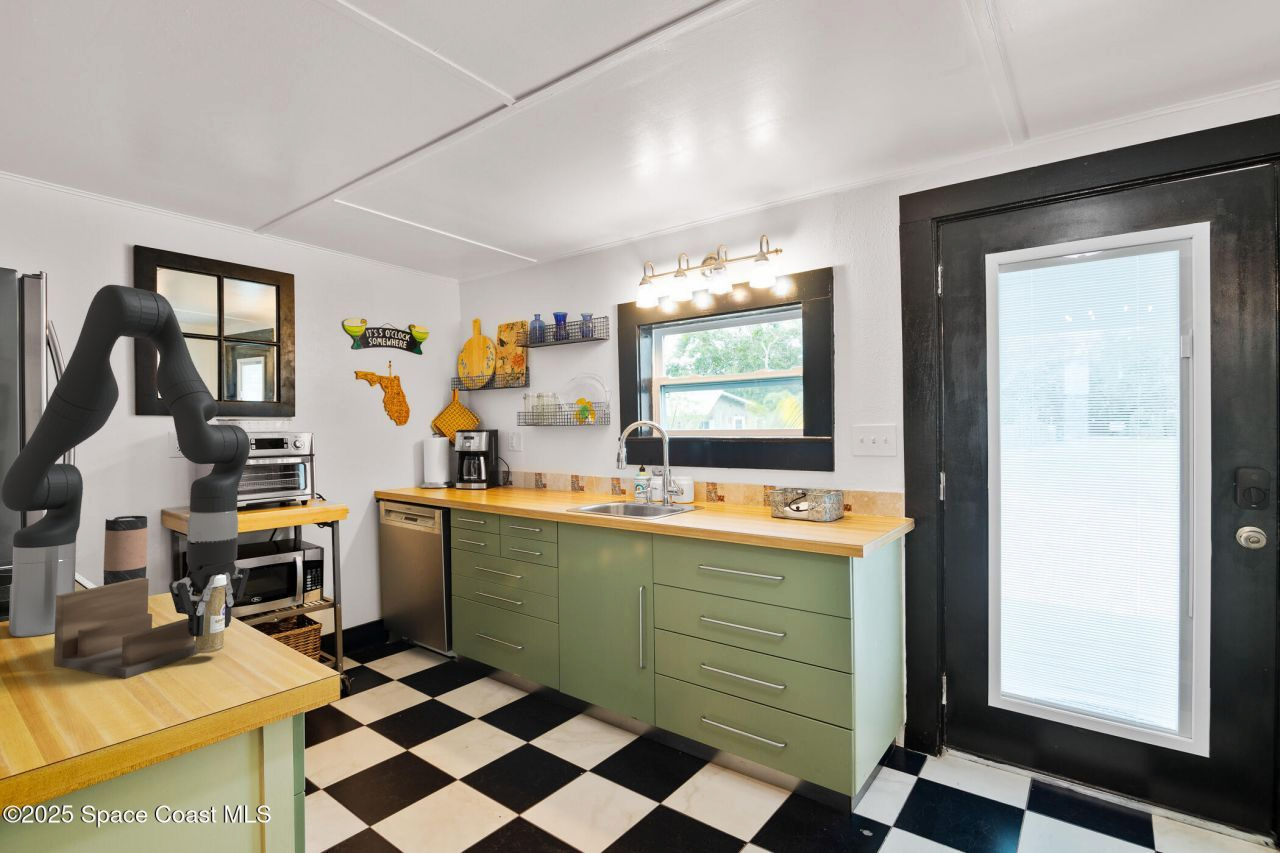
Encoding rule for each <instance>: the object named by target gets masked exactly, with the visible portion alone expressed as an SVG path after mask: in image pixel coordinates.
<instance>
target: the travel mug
mask: <svg viewBox="0 0 1280 853" xmlns="http://www.w3.org/2000/svg"><path fill="white" fill-rule="evenodd" d="M104 527H105V528H104V554H103V586H104V585H109V584H114V583H119V582H124V581H128V580H133V579H138V578H146V579H147V565H148V564H147V562H148V561H147V559H148V557H147V555H148V552H147V551H148V517H147V515H146V516H145V515H124V516H123V515H122V516H116V517H114V518H113V519H108V518H105V526H104Z"/></svg>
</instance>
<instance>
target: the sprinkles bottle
mask: <svg viewBox="0 0 1280 853" xmlns="http://www.w3.org/2000/svg"><path fill="white" fill-rule="evenodd" d="M226 584H227V582H226V576H225V575H221V574H220V575H216V578H215V579H214V584H213V585H212V586H211V588H212V589H211V590H212V591H211V595H210V598H209V601H208V602H206V604H205V607H204V610H203V613H202V615H204V624H203V635H202V636H199V637H195V640H194V641H195V648H194V651H195V652H197V653H198V654H209V653H215V652H218V651H221V650H223V649H224V648H225V642H224V640H225V638H224V637H225V629H226V628H225V585H226ZM201 595H202V594H198V593H197V596H201ZM197 603H198V602H197ZM196 606H197V604H196Z"/></svg>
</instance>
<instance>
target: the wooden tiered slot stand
mask: <svg viewBox="0 0 1280 853" xmlns="http://www.w3.org/2000/svg"><path fill="white" fill-rule="evenodd" d="M195 641H196V640H195V636H191V635H190V633H189V632H188V618H184V619H179V620H176V621H173V622H169V623H166V624H163V625H159V626H155V627H153V613H149V578H147V577H146V578H138V579H133V580H128V581H124V582H119V583H114V584H109V585H104V584H103V585H100V586H95V587H90V588H86V589H82V590H81V589H80V590H75V592H70V593H66V594H61V595H56V610H55V633H54V646H53V648H54V649H53V650H54V651H53V652H54V653H53V654H54V655H53V666H54V667H61V668H66V669H70V670H76V671H83V672H88V673H93V674H98V675H105V676H110V677H116V678H121V679H129V678H131V677H135V676H137V675H138V676H139V675H140V674H143V673H145V672H149V671H152V670H154V669H157V668H162V667H163V666H166V665H169V664H172V663H175V662H178V661H181V660H184V659H186V658H190V657H192V656H195V655H198V654H199V653H197V652H195V651H194V648H195Z"/></svg>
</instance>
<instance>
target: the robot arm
mask: <svg viewBox="0 0 1280 853" xmlns="http://www.w3.org/2000/svg"><path fill="white" fill-rule="evenodd" d="M120 337H126V338H133V339H134V338H136V339H141V340H143V339H144V340H145V339H147V340H148V341H149V342H151V344H152V345H153V346H154V348H155V349H156V351H157V352H158V354H159V362H158V365H157V369H156V374H155V385H156V390H157V392H158V394H159V396H160V398H161V400H162V401H163V403H164V405H165V406H166V408H167V410H168V411H169V413H170V414H171V416H172V418H173V423H174V428H175V434H176V438H177V443H178V448H179V450H180V453H181V454H182V456H183V457H185V458H186V460H188V461H189V462H192V463H193V464H196V465H212V464H214V465H213V467H212V469H211V470H210V471H211V472H210V473H209V474H208V475H205V476H203V477H199V478H197V479H195V480H193V482H192V484H191V486H190V495H189V496H190V497H189V498H190V499H189V517H188V521H187V535H186V538H187V539H186V559H185V560H186V563H187V566H188V571H187V573H186V574H185V577H184V578H182V579H180V580H178V581H176V580H175V581H171V582H169V584H168V587H169V591H170V594H171V598H172V601H173V605H174V609H175V612H176V614H182V615H187V619H188V632H189V633H190V635H191V636H194V638H196V637H199V636H202V635H203V624H204V615H202V613H203V610H204V607H205V604H206V602H208V601H209V598H210V595H211V591H212V590H211V589H212V588H211V586H212V585H213V584H214V579H215V578H216V575H220V574H221V575H225V576H226V582H227V584H226V585H225V628H224V629H226V628H228V627H230V624H231V621H232V606H234V603H236V602H238V601H242V599H243V596H244V593H245V589H246V586H247V583H248V579H249V576H250V570H251V569H250V568H249V567H244V566H243V567H241V566H236V565H235V561H236V560H237V558H238V542H239V541H238V539H239V516H238V494H239V492H238V491H239V490H238V489H239V484H240V482H241V480H242V477H243V474H244V470H245V469H246V468H245V467H246V465H247V462H248V459H249V456H250V451H251V442H250V439H249V435H248V433H247V432H246V430H245V429H243V428H242V426H239V425H235V424H210V423H208V422H210V421H211V420H213V418H214V417H215V416H217V414H218V411H219V407H218V403H217V401H216V399H215V397H214V396H213V395H212V393H211V392H210V390H209V388H208V386H207V385H206V384H205V381H204V380H203V378H202V377H201V375H200V373H199V372H198V370H197V367H196V366H195V364H194V362H193V359H192V357H191V354H190V350H189V348H188V346H187V342H186V340H185V337H184V335H183V332H182V329H181V327H180V323H179V321H178V318H177V315H176V314H175V311H174V309H173V306H172V305H171V303H170V302H169V301H168V299H167V298H166V297H165V296H164V295H162V294H161V293H159V292H155V291H151V290H147V289H142V288H137V287H131V286H125V285H119V284H107V285H104V286H102V287H101V288H100V289H99V290H97V292H96V294H95V295H94V296H93V298H92V299H91V302H90V305H89V307H88V309H87V312H86V316H85V319H84V321H83V325H82V327H81V331H80V333H79V336H78V339H77V342H76V345H75V347H74V349H73V351H72V353H71V356H70V357H69V360H68V363H67V365H66V367H65V369H64V371H63V372H62V374H61V377H60V378H59V380H58V382H57V383H56V386H55V387H54V389H53V391H52V393H51V395H50V397H49V399H48V402H47V404H46V406H45V409H44V411H43V412H42V415H41V417H40V419H39V421H38V423H37V425H36V427H35V429H34V431H33V433H32V434H31V436H30V438H29V439H28V441H27V442H26V444H25V446H24V447H23V449H21V451H20V453H19V454H18V456H17V457H16V459H15V460H14V461H13V464H11V466H10V468H9V470H8V471H7V474H6V475H5V477H4V479H3V483H2V485H1V500H2V503H3V505H4V506H5V507H6V508H7V509H9V510H11V511H13V512H37V511H38V512H39V511H46V512H45V514H44V516H43V517H42V518H40V519H39V520H38V521H36V522H35V523H32V524H30V525H28V526H25V527H23V528H21V529H17V531H16V532H14V534H13V536H12V538H13V539H12V574H11V576H12V580H11V583H10V584H9V585H10V586H9V616H8V632H9V633H10V636H12V637H20V638H22V637H34V636H35V637H36V636H43V635H44V636H45V635H51V634H53V633H54V634H55V610H56V595H61V594H66V593H70V592H75V591H76V560H77V558H76V557H77V556H76V555H77V554H76V552H77V534H78V531H79V529H80V524H81V512H82V503H83V496H84V495H83V494H84V493H83V491H84V483H83V482H84V481H83V477H82V474H81V471H80V469H79V468H78V467H77V466H76V465H74V464H71V463H57V462H58V460H60V458H62V456H64V455H65V454H66V453H68V452H70V451H71V450H72V449H74V448H76V447H77V446H78V445H80V444H82V443H83V442H85V441H86V440H88V439H89V438H90V437H92V436H93V435H95V434H96V433H97V432H98V431H100V430H101V429H102V428H103V427H104V426H105V425H106V423H107V422H108V420H109V418H110V416H111V415H112V412H113V410H114V409H115V407H116V405H117V402H118V400H119V396H120V391H119V386H118V383H117V379H116V377H115V374H114V372H113V368H112V366H111V365H112V364H111V361H110V360H111V355H112V351H113V348H114V346H115V345H116V342H117V341H118V339H119V338H120ZM197 593H198V594H202V595H201V596H197ZM197 602H198V603H197ZM196 604H197V606H196Z"/></svg>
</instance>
